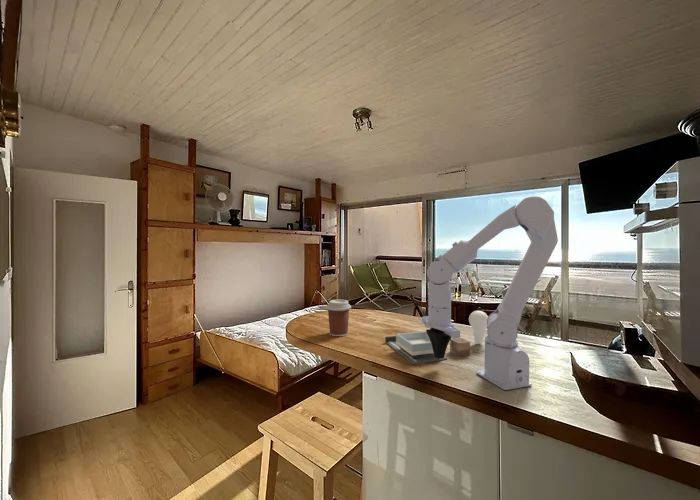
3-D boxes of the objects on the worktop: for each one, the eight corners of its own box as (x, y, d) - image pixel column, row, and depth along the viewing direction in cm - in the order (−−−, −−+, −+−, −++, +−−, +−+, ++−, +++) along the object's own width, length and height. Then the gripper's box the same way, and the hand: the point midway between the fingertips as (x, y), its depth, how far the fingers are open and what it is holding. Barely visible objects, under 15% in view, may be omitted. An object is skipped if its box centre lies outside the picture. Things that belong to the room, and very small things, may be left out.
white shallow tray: (443, 355, 86) (444, 341, 86) (412, 359, 83) (412, 344, 83) (425, 344, 96) (425, 331, 96) (396, 347, 93) (396, 334, 93)
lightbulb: (491, 348, 95) (491, 313, 94) (470, 346, 96) (470, 312, 96) (486, 341, 101) (486, 309, 100) (467, 340, 102) (467, 308, 102)
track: (447, 359, 86) (447, 352, 86) (412, 364, 82) (412, 357, 82) (414, 339, 103) (414, 333, 103) (385, 342, 100) (385, 336, 100)
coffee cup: (322, 336, 106) (322, 302, 106) (331, 329, 115) (331, 298, 115) (346, 339, 104) (346, 304, 103) (354, 331, 113) (354, 299, 112)
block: (469, 355, 89) (470, 342, 89) (458, 356, 88) (458, 343, 88) (461, 350, 93) (461, 337, 93) (450, 352, 92) (450, 339, 92)
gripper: (412, 301, 85) (412, 349, 86) (442, 313, 71) (442, 370, 72) (434, 300, 87) (434, 346, 88) (467, 311, 73) (467, 366, 74)
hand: (439, 357), depth 80 cm, fingers closed
